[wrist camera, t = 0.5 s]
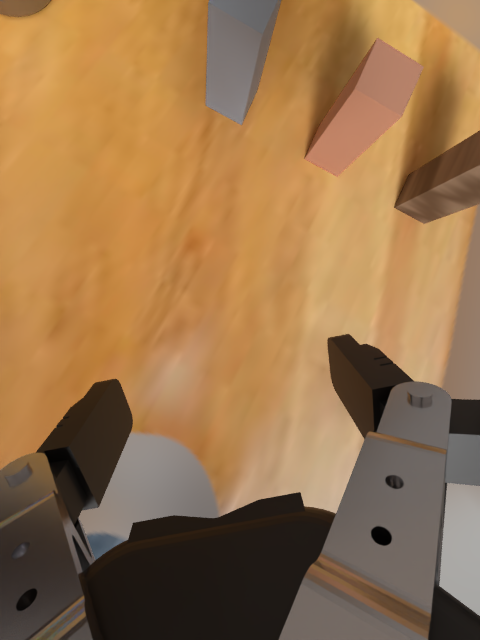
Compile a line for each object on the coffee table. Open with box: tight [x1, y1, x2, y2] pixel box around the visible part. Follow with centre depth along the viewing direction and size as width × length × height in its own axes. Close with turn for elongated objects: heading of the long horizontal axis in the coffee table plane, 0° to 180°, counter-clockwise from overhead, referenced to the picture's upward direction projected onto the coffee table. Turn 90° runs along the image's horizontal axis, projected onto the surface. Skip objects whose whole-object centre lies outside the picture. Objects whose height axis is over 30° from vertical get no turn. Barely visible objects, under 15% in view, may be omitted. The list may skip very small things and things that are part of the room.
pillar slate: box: [206, 0, 281, 125], centre depth 29 cm, size 4×4×12 cm
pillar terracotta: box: [305, 38, 423, 176], centre depth 31 cm, size 4×4×12 cm
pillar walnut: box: [394, 131, 480, 224], centre depth 33 cm, size 4×4×12 cm
